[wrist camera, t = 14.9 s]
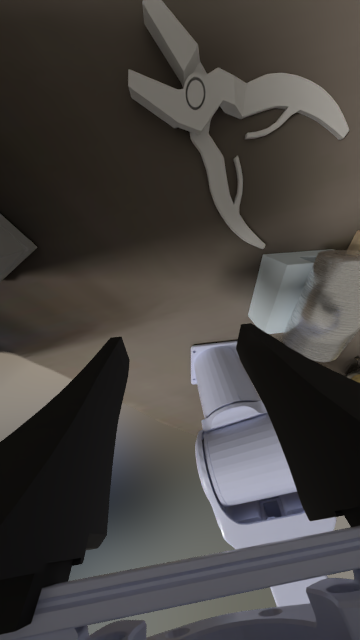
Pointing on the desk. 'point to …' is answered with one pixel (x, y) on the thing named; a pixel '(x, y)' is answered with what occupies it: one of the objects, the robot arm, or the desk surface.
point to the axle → (327, 307)
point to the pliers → (222, 105)
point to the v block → (279, 288)
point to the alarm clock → (355, 373)
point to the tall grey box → (12, 247)
